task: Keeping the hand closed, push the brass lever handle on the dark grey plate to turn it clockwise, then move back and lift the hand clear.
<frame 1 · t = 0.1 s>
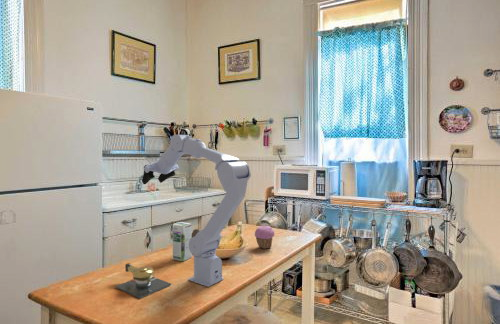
hand: (151, 181, 128), 32 cm above the table, tool tilted 50°, fingers open, 7 cm apart
brass lever handle: (137, 270, 109), point 5 cm above the table, hinge at 0.0°
vase: (196, 249, 147), on the table
syrup box: (182, 259, 135), on the table
dark grey plate: (143, 286, 108), on the table
cupcake: (264, 248, 150), on the table
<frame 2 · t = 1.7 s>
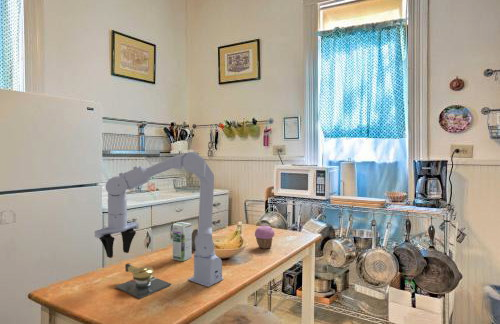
hand: (118, 254, 108), 10 cm above the table, tool pointing down, fingers open, 5 cm apart
nothing on the table moved.
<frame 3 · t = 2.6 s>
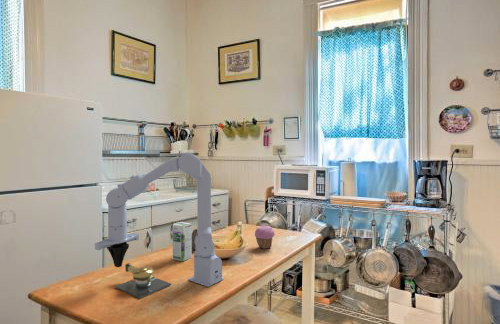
hand: (118, 266, 108), 7 cm above the table, tool pointing down, fingers closed
nothing on the table moved.
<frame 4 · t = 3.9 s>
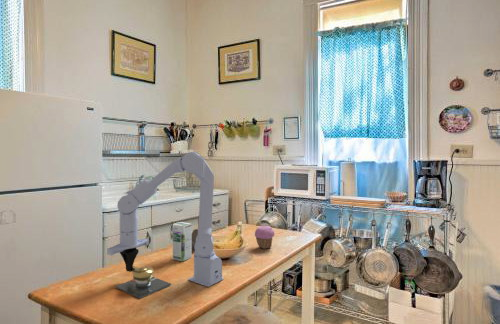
hand: (129, 270, 111), 4 cm above the table, tool pointing down, fingers closed, pressing on brass lever handle
brass lever handle: (138, 270, 109), point 5 cm above the table, hinge at -2.5°, touching gripper
everything else where it was.
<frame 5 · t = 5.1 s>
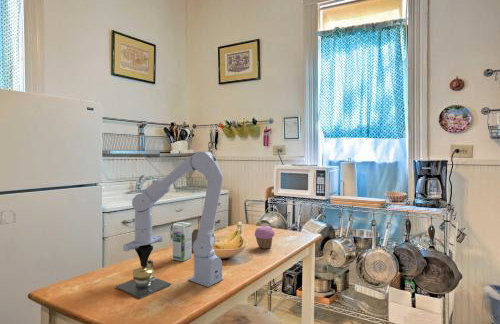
hand: (143, 266, 114), 4 cm above the table, tool pointing down, fingers closed, pressing on brass lever handle
brass lever handle: (146, 269, 111), point 5 cm above the table, hinge at -52.6°, touching gripper
everything else where it was.
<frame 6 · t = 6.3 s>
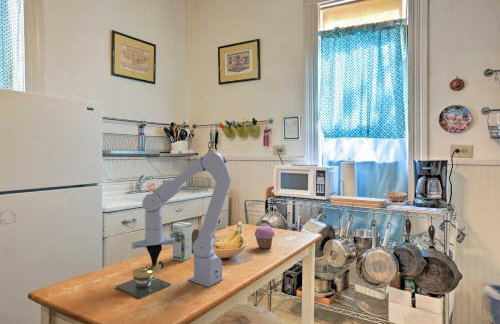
hand: (154, 266, 115), 4 cm above the table, tool pointing down, fingers closed
brass lever handle: (150, 269, 110), point 5 cm above the table, hinge at -81.9°, touching gripper
everything else where it was.
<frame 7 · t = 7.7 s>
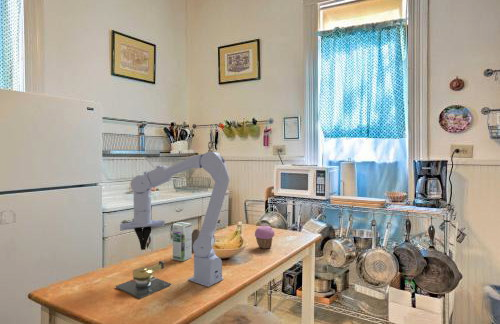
hand: (143, 249, 114), 10 cm above the table, tool pointing down, fingers closed
brass lever handle: (150, 269, 110), point 5 cm above the table, hinge at -82.1°
everything else where it was.
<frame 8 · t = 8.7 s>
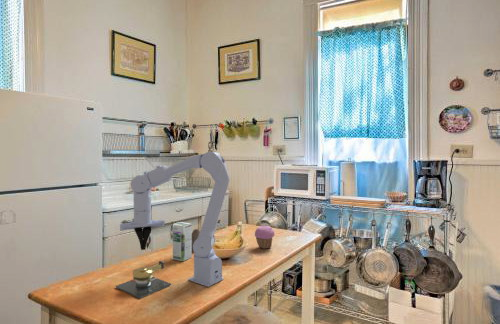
hand: (143, 249, 114), 10 cm above the table, tool pointing down, fingers closed
nothing on the table moved.
at the end: brass lever handle at -82° (first picture: +0°) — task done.
